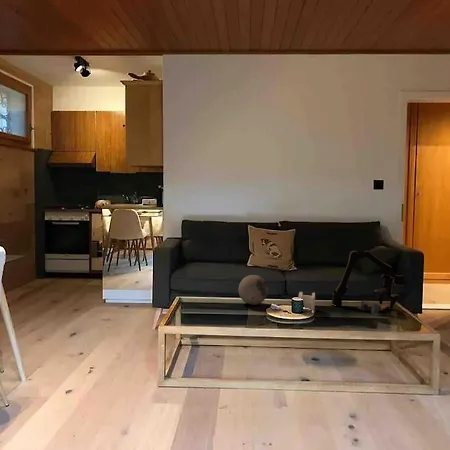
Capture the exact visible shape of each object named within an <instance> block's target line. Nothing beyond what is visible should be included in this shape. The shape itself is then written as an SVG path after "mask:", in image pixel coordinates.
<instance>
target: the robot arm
mask: <svg viewBox="0 0 450 450" xmlns="http://www.w3.org/2000/svg"><path fill="white" fill-rule="evenodd" d="M364 258H367V259H368V260H370V261H371V262H373V263H374V264H376V266H378V267H379V268H380V269H381V270H382V271H383V272H384V273H383V274H382V275H381V276H380V277H381V278H382V279H383V284H382V285H381V288H378V289H374V291H373V294H374V295H375V296H376V297H377V300H378V303H379V305H380V304H382V305H383V301H384V298H385V297H384V296H386V297H389V302H390V303H389V304H390V306H389V309H390V308H392V309H393V307H394V306H395V304H396V302H397V301H399V300H401V295H400V294H396V293H393V291H392V290H393V288H394V286H393V284H394V285H395V286H402V287H403V286H405V282H406V281H405V275H398V274H396V273H395V269H394V268H393V267H392V266H391V265H390V264H387V263H385V262H383V261H382V260H381V259H379V258H378V257H376V256H375V255H374V254H372V252H370V251H369V250H359V251H358V250H351V251H350V252H349V255H348V262H347V265H346V267H345V271H344V273H343V275H342V278H341V280H340V282H339V283H338V285H337V287H336V288H335V290H334V291H333V292H332V297H331V304H332V303H333V304H334V305H336V307H335V308H339V306H341V307H343V306H342V305H343V299H342V298H343V296H344V295H346V294H347V291H348V289H349V287H348V282H349V278H350V275H351V273H352V271H353V269H354V265H356V263H357V262H358V260H359V259H364Z"/></svg>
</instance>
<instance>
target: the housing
mask: <svg viewBox="0 0 450 450" xmlns="http://www.w3.org/2000/svg"><path fill="white" fill-rule="evenodd" d="M360 302H361V303H360V306H358V307H357V309H358V310H361V311H363V312H364V311H368V310H369V307H370V313H371V314H372V315H375V316H376V317H377V316H382V313H381V312H378V310H379V306H380V304H377V303H374V302H370V301H368V300H361V301H360Z"/></svg>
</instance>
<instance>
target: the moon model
mask: <svg viewBox="0 0 450 450" xmlns="http://www.w3.org/2000/svg"><path fill="white" fill-rule="evenodd" d="M267 283H268V282H267V281H266V280H265V278H263V277H262V276H260V275H259V274H258V275H256V274H250V275H247V276H245V277H243V278H242V280H241V281H240V283H239V284H238V285H239V286H238V294H239V297H240V299H241V300H242V301H243V302H244V303H246V304H247V305H251V306H255V305H260V304H261V303H263V302H264V301H265V300H266V299H267V297H268V294H269V286H268V284H267Z"/></svg>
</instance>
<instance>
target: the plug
mask: <svg viewBox="0 0 450 450" xmlns="http://www.w3.org/2000/svg"><path fill="white" fill-rule="evenodd" d="M386 307H387V305H379V310H378V312H379V311H380V312H381V311H384V310H383V309H385V308H386ZM380 312H379V313H380Z"/></svg>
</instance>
